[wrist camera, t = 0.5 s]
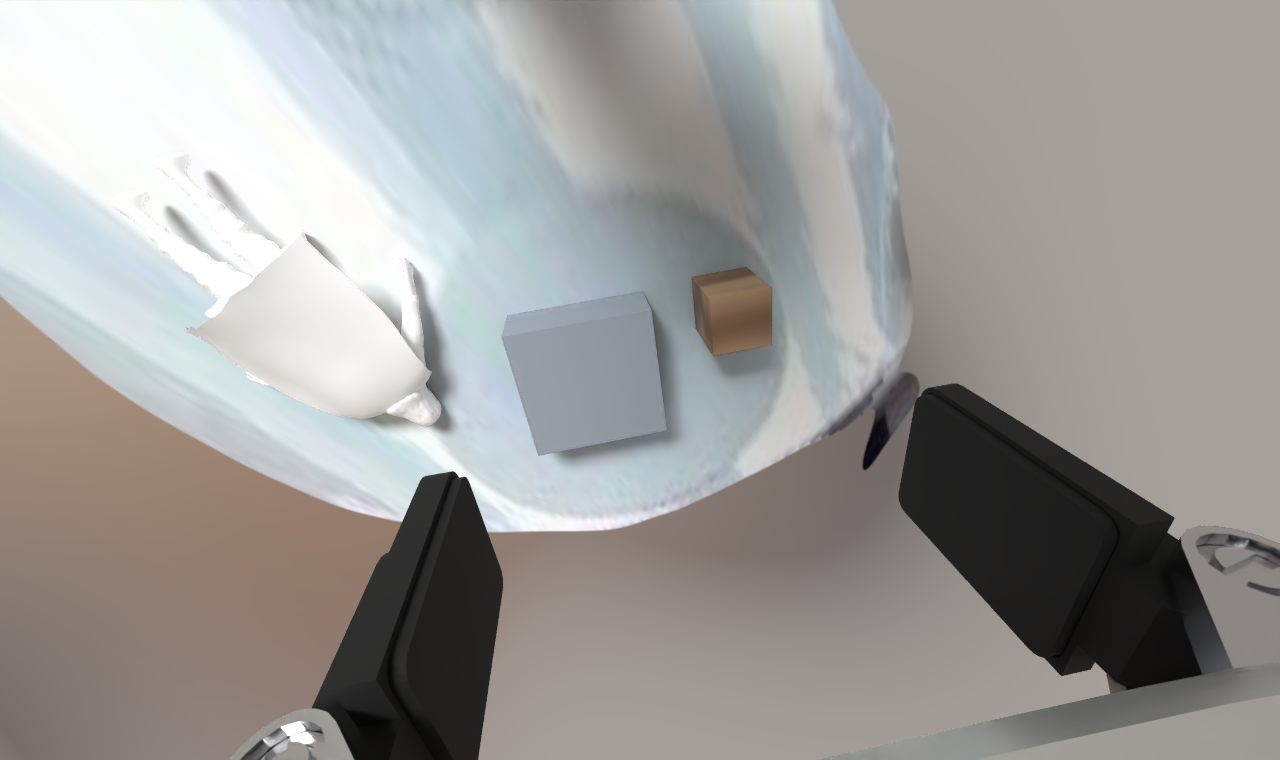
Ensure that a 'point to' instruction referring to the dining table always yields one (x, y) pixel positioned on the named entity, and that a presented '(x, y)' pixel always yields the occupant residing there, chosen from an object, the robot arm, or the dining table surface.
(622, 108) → the dining table surface
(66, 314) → the dining table surface
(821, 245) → the dining table surface
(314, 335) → the figurine
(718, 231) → the dining table surface
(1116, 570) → the robot arm
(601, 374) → the plinth
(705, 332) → the walnut block
